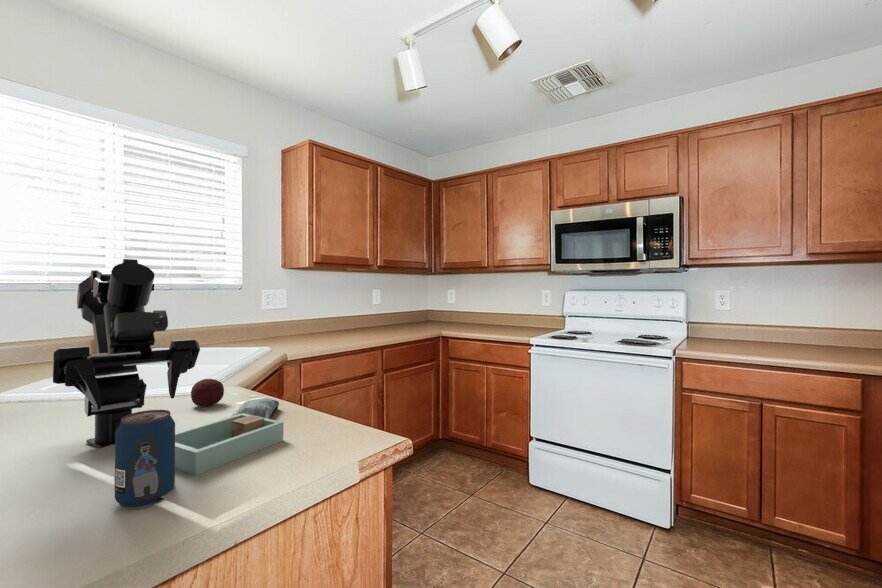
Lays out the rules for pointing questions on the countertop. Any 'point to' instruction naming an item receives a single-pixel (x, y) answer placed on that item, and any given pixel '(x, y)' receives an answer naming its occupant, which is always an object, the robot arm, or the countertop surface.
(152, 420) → the soda can
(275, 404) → the packaged food
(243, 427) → the walnut block
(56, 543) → the countertop surface
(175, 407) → the countertop surface
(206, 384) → the potato
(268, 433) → the tray
